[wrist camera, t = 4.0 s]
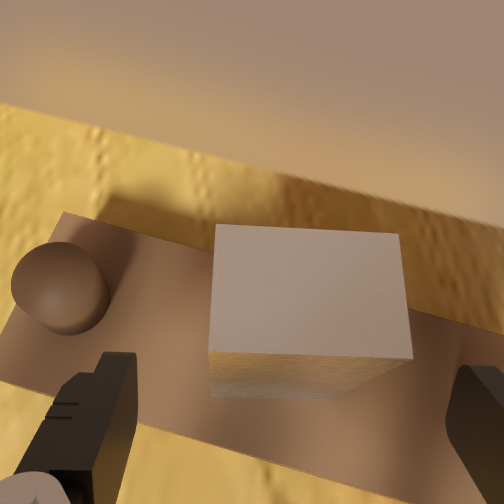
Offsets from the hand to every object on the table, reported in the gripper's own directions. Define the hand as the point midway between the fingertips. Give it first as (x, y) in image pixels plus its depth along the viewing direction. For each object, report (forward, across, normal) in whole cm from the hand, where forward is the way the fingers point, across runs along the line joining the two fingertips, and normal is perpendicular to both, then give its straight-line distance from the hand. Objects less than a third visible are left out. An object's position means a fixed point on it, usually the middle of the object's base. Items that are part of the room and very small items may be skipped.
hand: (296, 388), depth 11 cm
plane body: (+8, 0, +5) cm, 9 cm away
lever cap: (+6, 0, +3) cm, 6 cm away
